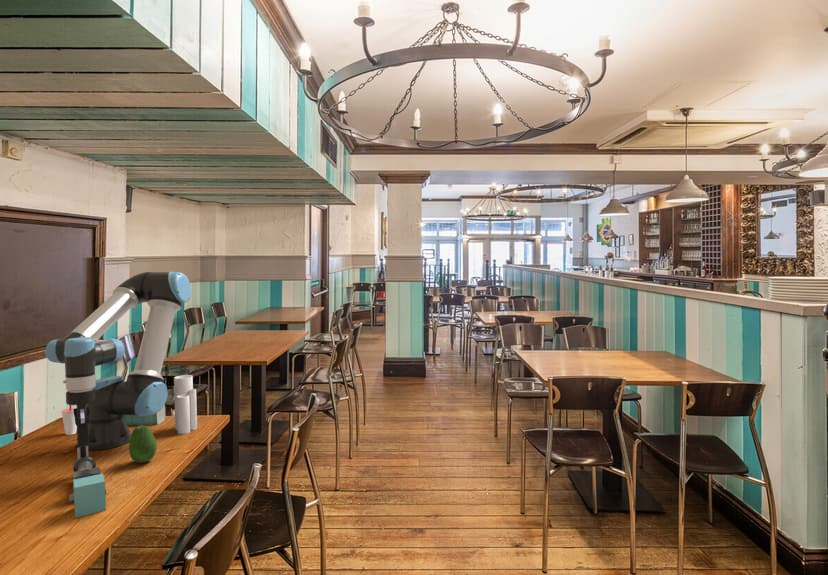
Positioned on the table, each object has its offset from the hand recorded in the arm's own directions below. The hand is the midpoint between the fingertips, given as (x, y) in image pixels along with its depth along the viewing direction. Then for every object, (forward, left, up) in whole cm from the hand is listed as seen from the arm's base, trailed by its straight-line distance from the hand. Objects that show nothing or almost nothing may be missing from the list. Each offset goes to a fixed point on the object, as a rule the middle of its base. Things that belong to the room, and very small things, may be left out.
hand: (83, 466), depth 153 cm
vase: (-27, +35, -3) cm, 44 cm away
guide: (+17, 0, -3) cm, 17 cm away
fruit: (0, +16, -3) cm, 16 cm away
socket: (+27, 0, -3) cm, 27 cm away
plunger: (+11, 0, -2) cm, 12 cm away
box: (-47, +23, -3) cm, 52 cm away
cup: (-48, -2, -3) cm, 48 cm away
